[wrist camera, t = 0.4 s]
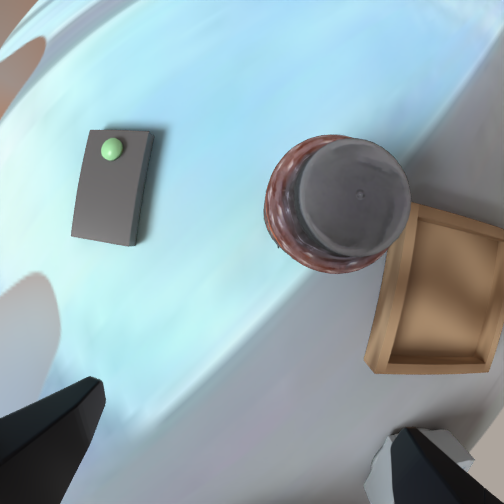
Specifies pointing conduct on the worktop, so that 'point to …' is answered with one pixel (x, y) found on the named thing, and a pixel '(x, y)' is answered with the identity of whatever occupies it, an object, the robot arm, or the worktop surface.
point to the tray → (439, 297)
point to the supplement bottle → (337, 203)
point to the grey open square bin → (381, 474)
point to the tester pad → (112, 186)
